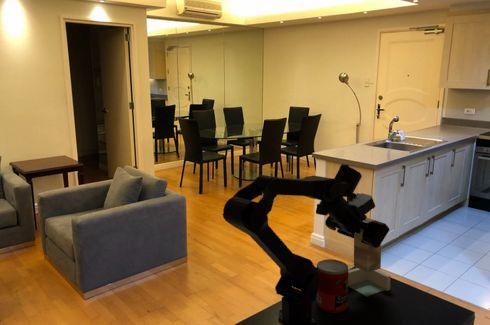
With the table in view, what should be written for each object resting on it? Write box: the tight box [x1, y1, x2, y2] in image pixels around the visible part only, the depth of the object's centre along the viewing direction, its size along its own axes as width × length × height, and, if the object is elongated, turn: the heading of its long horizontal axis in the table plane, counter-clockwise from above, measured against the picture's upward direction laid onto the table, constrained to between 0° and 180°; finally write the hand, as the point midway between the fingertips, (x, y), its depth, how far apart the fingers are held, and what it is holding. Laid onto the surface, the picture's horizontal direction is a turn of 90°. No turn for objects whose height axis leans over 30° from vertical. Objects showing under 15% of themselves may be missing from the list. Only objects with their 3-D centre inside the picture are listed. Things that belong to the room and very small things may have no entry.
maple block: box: [353, 217, 382, 272], centre depth 109 cm, size 5×5×13 cm
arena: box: [348, 267, 391, 298], centre depth 111 cm, size 13×9×4 cm
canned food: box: [316, 258, 349, 314], centre depth 102 cm, size 8×8×11 cm
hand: (371, 242), depth 110 cm, fingers closed on maple block, 5 cm apart
